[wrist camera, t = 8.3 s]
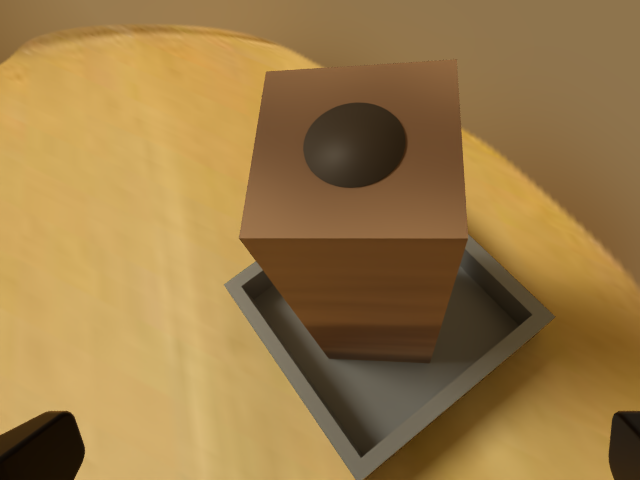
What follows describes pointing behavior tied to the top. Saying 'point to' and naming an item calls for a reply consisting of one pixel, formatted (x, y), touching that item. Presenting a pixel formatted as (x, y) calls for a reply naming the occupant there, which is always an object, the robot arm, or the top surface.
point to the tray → (395, 377)
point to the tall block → (361, 203)
